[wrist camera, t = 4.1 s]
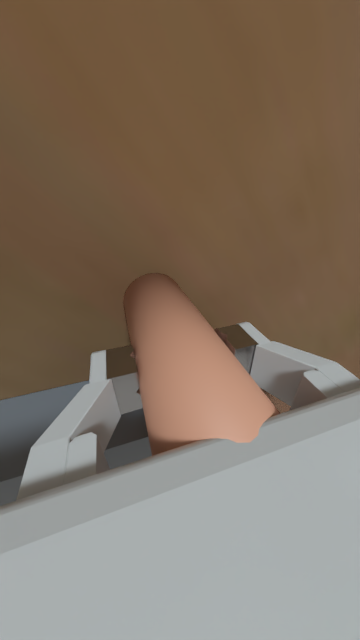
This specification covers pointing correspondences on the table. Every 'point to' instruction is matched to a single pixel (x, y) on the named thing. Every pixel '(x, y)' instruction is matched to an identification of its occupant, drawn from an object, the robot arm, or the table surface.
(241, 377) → the peg
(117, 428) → the socket block
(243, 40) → the table surface
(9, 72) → the table surface
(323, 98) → the table surface
